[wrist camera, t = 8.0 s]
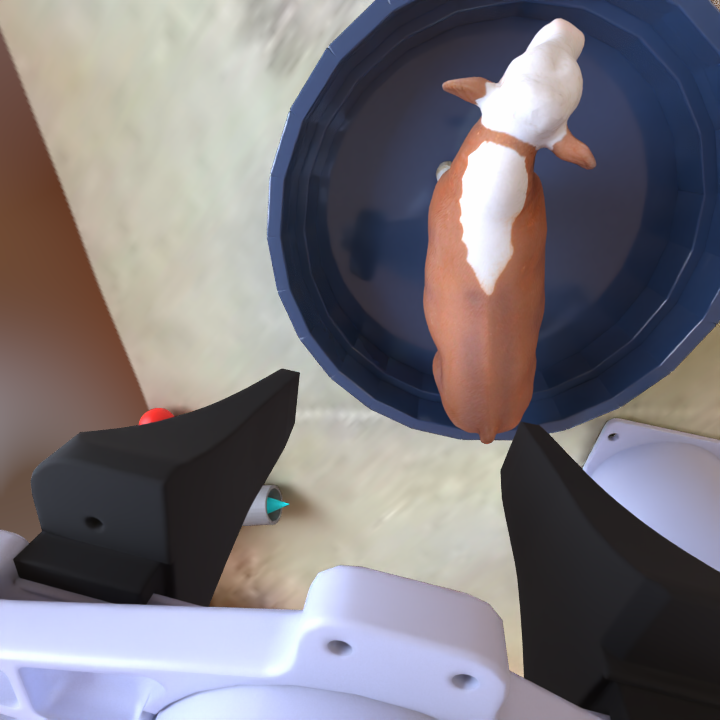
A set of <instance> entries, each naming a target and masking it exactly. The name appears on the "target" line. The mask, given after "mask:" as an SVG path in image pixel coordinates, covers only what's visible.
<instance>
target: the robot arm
mask: <svg viewBox="0 0 720 720" xmlns="http://www.w3.org/2000/svg"><path fill="white" fill-rule="evenodd" d="M299 376H300V373H299V372H295V371H290V370H286V369H280V370H278V371H277V372H275V373H273V374H271V375H269V376H268V377H266V378H264V379H262V380H261V381H259V382H257V383H255V384H253V385H251V386H250V387H248V388H246V389H244V390H242V391H240V392H238V393H236V394H234V395H232V396H229V397H227V398H225V399H223V400H221V401H219V402H216V403H214V404H212V405H209V406H207V407H204V408H201V409H198V410H195V411H192V412H189V413H186V414H183V415H179V416H175V417H172V418H168V419H164V420H161V421H156V422H151V423H147V424H142V425H136V426H130V427H124V428H117V429H108V430H98V431H89V432H80V433H79V434H77V435H76V436H75V437H73V438H72V439H71V440H69V441H68V442H67V443H66V444H65V445H63V446H62V447H61V448H59V449H58V450H57V451H56V452H54V453H53V454H52V455H50V456H49V457H48V458H47V459H46V460H44V461H43V462H42V463H40V464H39V465H38V467H37V468H36V469H35V470H34V471H33V474H32V478H31V488H32V495H33V499H34V503H35V507H36V510H37V514H38V517H39V521H40V524H41V529H42V532H41V533H40V534H39V535H38V536H37V537H36V538H35V539H34V540H33V541H32V542H31V543H28V541H27V540H26V539H25V538H23V537H22V536H20V535H18V534H15V533H12V532H9V531H5V530H1V529H0V720H720V440H718V439H713V438H708V437H704V436H699V435H695V434H690V433H685V432H681V431H676V430H671V429H667V428H662V427H657V426H653V425H648V424H643V423H639V422H634V421H629V420H625V419H620V418H613V419H610V420H609V421H607V422H606V424H605V425H604V427H603V429H602V431H601V433H600V435H599V437H598V439H597V441H596V443H595V445H594V447H593V449H592V451H591V453H590V455H589V457H588V458H587V460H586V462H585V464H584V466H583V468H581V467H580V466H579V465H578V464H577V463H576V462H575V461H574V460H573V459H572V458H571V457H570V456H569V455H568V454H567V453H566V452H565V450H564V449H563V448H562V447H561V446H560V445H559V444H558V443H557V442H556V441H555V440H554V439H553V438H552V437H551V436H550V435H549V434H548V433H547V432H546V431H545V430H544V429H543V428H542V427H541V426H540V425H535V424H531V423H526V422H522V421H520V424H519V426H518V429H517V431H516V434H515V436H514V439H513V441H512V444H511V446H510V448H509V451H508V453H507V456H506V458H505V461H504V463H503V466H502V468H501V491H502V501H503V507H504V512H505V517H506V522H507V527H508V532H509V536H510V541H511V546H512V551H513V556H514V561H515V566H516V572H517V579H518V590H519V601H520V613H521V628H522V642H523V665H524V678H523V677H521V676H519V675H517V674H515V673H513V672H511V671H510V670H509V665H508V658H507V650H506V643H505V635H504V628H503V621H502V619H501V618H500V616H499V615H498V614H497V613H496V612H495V610H494V609H493V608H492V607H491V605H490V604H488V603H486V602H484V601H482V600H480V599H478V598H476V597H473V596H471V595H469V594H467V593H464V592H460V591H456V590H452V589H448V588H444V587H440V586H436V585H432V584H428V583H424V582H420V581H417V580H413V579H409V578H405V577H401V576H397V575H393V574H389V573H385V572H381V571H377V570H373V569H369V568H365V567H360V566H346V565H339V566H336V567H333V568H331V569H328V570H325V571H323V572H320V573H318V575H317V576H316V578H315V580H314V581H313V583H312V584H311V586H310V589H309V592H308V596H307V599H306V602H305V606H304V609H303V610H288V609H258V608H229V607H209V604H210V601H211V599H212V596H213V594H214V591H215V589H216V586H217V584H218V582H219V579H220V577H221V574H222V572H223V569H224V567H225V564H226V562H227V560H228V557H229V555H230V553H231V550H232V548H233V545H234V543H235V541H236V538H237V536H238V534H239V532H240V529H241V527H242V525H243V523H244V520H245V518H246V516H247V514H248V511H249V509H250V508H251V506H252V504H253V502H254V500H255V498H256V496H257V495H258V493H259V491H260V490H261V488H262V486H263V484H264V483H265V481H266V479H267V478H268V476H269V474H270V472H271V471H272V469H273V467H274V466H275V464H276V462H277V460H278V459H279V457H280V455H281V453H282V452H283V450H284V448H285V446H286V443H287V441H288V439H289V436H290V434H291V431H292V429H293V426H294V424H295V415H296V405H297V395H298V386H299ZM612 433H616V434H615V435H614V436H612V437H608V436H609V435H610V434H612Z"/></svg>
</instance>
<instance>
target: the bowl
mask: <svg viewBox="0 0 720 720" xmlns="http://www.w3.org/2000/svg"><path fill="white" fill-rule="evenodd" d="M558 18H561V19H564V20H566V21H568V22H570V23H571V24H572V25H574V26H575V27H576V28H577V29H579V30H580V31H581V32H582V33H583V34H584V37H585V41H584V47H583V49H582V52H581V54H580V56H579V57H578V59H577V61H576V62H577V63H578V65H579V67H580V70H581V74H582V79H583V90H582V95H581V99H580V102H579V104H578V106H577V108H576V109H575V110H574V111H573V113H572V114H571V115H570V117H569V118H568V120H567V126H568V129H569V130H570V132H571V134H572V135H573V136H574V137H575V138H577V139H578V140H580V141H581V142H583V143H584V144H586V145H587V146H588V147H589V149H590V151H591V153H592V154H593V156H594V158H595V161H596V167H595V168H593V169H585V168H582V167H580V166H579V165H577V164H574V163H571V162H568V161H564V160H561V159H560V158H558V157H557V156H556V155H555V154H554V153H553V152H552V151H551V150H549V149H548V148H541V149H539V150H538V151H537V153H536V156H535V163H534V172H535V173H536V174H537V175H538V177H539V178H540V181H541V184H542V188H543V194H544V200H545V211H546V222H547V235H546V244H545V282H544V290H545V307H544V315H543V319H542V322H541V326H540V330H539V335H538V342H537V347H536V352H535V353H536V371H535V376H534V382H533V394H532V399H531V401H530V403H529V405H528V407H527V409H526V411H525V412H524V414H523V416H522V419H521V421H522V422H526V423H531V424H535V425H540V426H541V427H542V428H543V429H544V430H545V431H546V432H547V433H548V434H549V433H554V432H559V431H564V430H566V429H570V428H573V427H575V426H577V425H580V424H582V423H584V422H587V421H589V420H592V419H594V418H596V417H599V416H601V415H604V414H606V413H608V412H611V411H613V410H616V409H618V408H620V407H622V406H623V405H625V404H626V403H628V402H629V401H631V400H632V399H634V398H635V397H637V396H638V395H639V394H641V393H642V392H644V391H645V390H647V389H648V388H650V387H651V386H653V385H654V384H656V383H657V382H659V381H660V380H661V379H663V378H664V377H666V376H667V375H669V374H670V373H671V372H672V371H674V370H675V369H676V367H677V366H678V365H679V364H680V363H681V362H682V361H683V360H684V359H685V358H686V357H687V356H688V355H689V354H690V353H691V352H692V351H693V350H694V348H695V347H696V346H697V345H698V344H699V343H700V342H701V341H702V340H703V339H704V338H705V337H706V336H707V335H708V334H709V333H710V332H711V331H712V329H713V328H714V327H715V326H716V324H718V323H719V321H720V11H719V10H718V8H717V7H716V6H715V5H714V4H713V2H712V1H711V0H375V1H374V2H373V3H372V4H371V5H370V6H369V7H368V8H367V9H366V10H365V11H364V12H363V13H362V14H361V15H360V16H359V17H358V18H357V19H356V20H354V21H353V22H352V23H351V24H350V25H349V26H348V27H347V28H346V29H345V30H344V31H343V32H342V33H341V34H340V35H339V36H338V37H337V38H336V39H335V40H334V41H333V42H332V43H331V44H330V45H329V48H326V50H325V52H324V53H323V55H322V57H321V58H320V60H319V62H318V63H317V65H316V67H315V68H314V70H313V72H312V73H311V75H310V77H309V78H308V80H307V82H306V83H305V85H304V87H303V88H302V90H301V92H300V93H299V95H298V97H297V98H296V100H295V102H294V103H293V105H292V106H291V108H290V111H289V113H288V117H287V120H286V123H285V126H284V130H283V133H282V136H281V140H280V143H279V146H278V150H277V153H276V156H275V159H274V163H273V166H272V169H271V173H270V174H271V175H270V182H269V201H268V221H267V240H268V245H269V250H270V255H271V261H272V266H273V271H274V276H275V281H276V286H277V290H278V294H279V296H280V298H281V300H282V303H283V305H284V307H285V309H286V311H287V313H288V316H289V318H290V320H291V322H292V324H293V326H294V329H295V331H296V333H297V335H298V337H299V339H300V340H301V342H302V343H303V344H304V345H305V347H306V348H307V349H308V350H309V352H310V353H311V354H312V355H313V357H314V358H315V359H316V361H317V362H318V363H319V364H320V366H321V367H322V368H323V369H324V371H325V372H326V373H327V374H328V376H329V377H331V379H332V380H334V381H335V382H336V383H337V384H339V385H340V386H341V387H343V388H344V389H345V390H346V391H348V392H349V393H350V394H351V395H353V396H354V397H355V398H357V399H358V400H359V401H360V402H362V403H363V404H364V405H365V406H367V407H368V408H369V409H371V410H373V411H375V412H378V413H380V414H382V415H384V416H386V417H388V418H390V419H393V420H395V421H397V422H399V423H401V424H403V425H405V426H407V427H410V428H412V429H416V430H420V431H425V432H429V433H434V434H438V435H442V436H447V437H451V438H456V439H462V440H480V436H479V434H478V433H469V432H466V431H464V430H462V429H460V428H458V427H456V426H455V425H454V424H453V423H452V421H451V420H450V418H449V417H448V415H447V413H446V411H445V409H444V407H443V404H442V401H441V396H440V393H439V390H438V388H437V385H436V382H435V379H434V374H433V366H432V365H433V359H434V356H435V354H436V352H437V351H438V349H437V347H436V345H435V343H434V341H433V338H432V336H431V334H430V331H429V328H428V325H427V321H426V318H425V314H424V306H423V296H424V287H425V262H426V256H427V249H428V242H429V236H428V213H429V206H430V203H431V199H432V196H433V192H434V189H435V186H436V184H437V182H438V181H437V178H436V171H437V168H438V167H439V165H440V164H441V163H443V162H445V161H451V162H453V160H454V158H455V156H456V155H457V153H458V151H459V149H460V147H461V146H462V144H463V142H464V140H465V138H466V137H467V135H468V133H469V132H470V130H471V129H472V127H473V126H474V125H475V124H476V123H477V122H478V120H479V119H480V118H481V116H482V112H481V109H480V107H478V106H477V105H475V104H472V103H470V102H467V101H465V100H463V99H461V98H460V97H458V96H456V95H454V94H451V93H449V92H446V91H444V90H443V87H442V85H443V83H444V82H446V81H449V80H455V79H461V78H469V77H482V78H485V79H487V80H489V81H491V82H493V83H499V81H500V80H501V78H502V77H503V75H504V74H505V72H506V70H507V68H508V66H509V65H510V64H511V62H512V61H513V60H514V59H515V58H517V57H519V56H520V55H522V54H523V53H525V52H526V50H527V48H528V46H529V45H530V43H531V42H532V40H533V38H534V37H535V35H536V34H537V33H538V32H539V31H540V30H541V29H542V28H543V27H544V26H545V25H547V24H549V23H550V22H552V21H553V20H555V19H558ZM519 424H520V422H519ZM519 424H518V425H517V426H516V427H515V428H513V429H512V430H509V431H506V432H503V433H498V434H496V436H495V439H494V440H513V439H514V436H515V434H516V431H517V429H518V426H519Z"/></svg>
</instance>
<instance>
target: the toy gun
mask: <svg viewBox="0 0 720 720" xmlns="http://www.w3.org/2000/svg"><path fill="white" fill-rule="evenodd" d="M172 417H175V416H174V415H173V414H172V413H171V412H169V411H168V410H166V409H163V408H155V409H151V410H149V411H148V412H146V413H145V414H144V415H143V416H142V418H141V419H140V422H139V425H142V424H147V423H151V422H156V421H161V420H164V419H168V418H172ZM287 505H289V504H288V503H285V502H282V495H281V491H280V489H279V487H278V486H277V485H265V486H262V488H261V490H260V491H259V493H258V495H257V496H256V498H255V500H254V502H253V504H252V506H251V508H250V509H249V511H248V514H247V516H246V518H245V520H244V523H243V526H253V525H274V524H276V523H277V522H278V521H279V519H280V517H281V513H282V507H285V506H287Z"/></svg>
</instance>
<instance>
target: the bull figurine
mask: <svg viewBox="0 0 720 720" xmlns="http://www.w3.org/2000/svg"><path fill="white" fill-rule="evenodd" d="M584 41H585V37H584V34H583V33H582V32H581V31H580V30H579V29H577V28H576V27H575V26H574V25H572V24H571V23H570V22H568V21H566V20H564V19H561V18H558V19H555V20H553V21H552V22H550V23H549V24H547V25H545V26H544V27H543V28H542V29H541V30H540V31H539V32H538V33H537V34H536V35H535V37H534V38H533V40H532V42H531V43H530V45H529V46H528V48H527V50H526V52H525V53H523V54H522V55H520V56H519V57H517V58H515V59H514V60H513V61H512V62H511V64H510V65H509V66H508V68H507V70H506V72H505V74H504V75H503V77H502V78H501V80H500V81H499V83H493V82H491V81H489V80H487V79H485V78H482V77H469V78H461V79H455V80H449V81H446V82H444V83H443V85H442V87H443V90H444V91H446V92H449V93H451V94H454V95H456V96H458V97H460V98H461V99H463V100H465V101H467V102H470V103H472V104H475V105H477V106H478V107H480V109H481V112H482V116H481V118H480V119H479V120H478V122H477V123H476V124H475V125H474V126H473V127H472V129H471V130H470V132H469V133H468V135H467V137H466V138H465V140H464V142H463V144H462V146H461V147H460V149H459V151H458V153H457V155H456V156H455V158H454V160H453V162H451V161H445V162H443V163H441V164H440V165H439V167H438V168H437V171H436V178H437V181H438V182H437V184H436V186H435V189H434V192H433V196H432V199H431V203H430V206H429V213H428V236H429V242H428V249H427V256H426V262H425V287H424V296H423V306H424V314H425V318H426V321H427V325H428V328H429V331H430V334H431V336H432V338H433V341H434V343H435V345H436V347H437V349H438V351H437V352H436V354H435V356H434V359H433V365H432V366H433V374H434V379H435V382H436V385H437V388H438V390H439V393H440V396H441V401H442V404H443V407H444V409H445V411H446V413H447V415H448V417H449V418H450V420H451V421H452V423H453V424H454V425H455V426H456V427H458V428H460V429H462V430H464V431H466V432H469V433H478V434H479V436H480V440H481V442H482V443H484V444H489V443H491V442H492V441H493V440H494V439H495V436H496V434H498V433H503V432H506V431H509V430H512V429H513V428H515V427H516V426H517V425H518V424H519V422H520V421H521V419H522V416H523V414H524V412H525V411H526V409H527V407H528V405H529V403H530V401H531V399H532V394H533V382H534V376H535V371H536V353H535V352H536V347H537V342H538V335H539V330H540V326H541V322H542V319H543V315H544V307H545V290H544V282H545V244H546V235H547V222H546V211H545V200H544V194H543V188H542V184H541V181H540V178H539V177H538V175H537V174H536V173H535V172H534V163H535V156H536V153H537V151H538V150H539V149H541V148H548V149H549V150H551V151H552V152H553V153H554V154H555V155H556V156H557V157H558V158H560V159H561V160H564V161H568V162H571V163H574V164H577V165H579V166H580V167H582V168H585V169H593V168H595V167H596V161H595V158H594V156H593V154H592V153H591V151H590V149H589V147H588V146H587V145H586V144H584V143H583V142H581V141H580V140H578V139H577V138H575V137H574V136H573V135H572V134H571V132H570V130H569V129H568V126H567V120H568V118H569V117H570V115H571V114H572V113H573V111H574V110H575V109H576V108H577V106H578V104H579V102H580V99H581V95H582V90H583V79H582V74H581V70H580V67H579V65H578V63H577V62H576V61H577V59H578V57H579V56H580V54H581V52H582V49H583V47H584Z"/></svg>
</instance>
